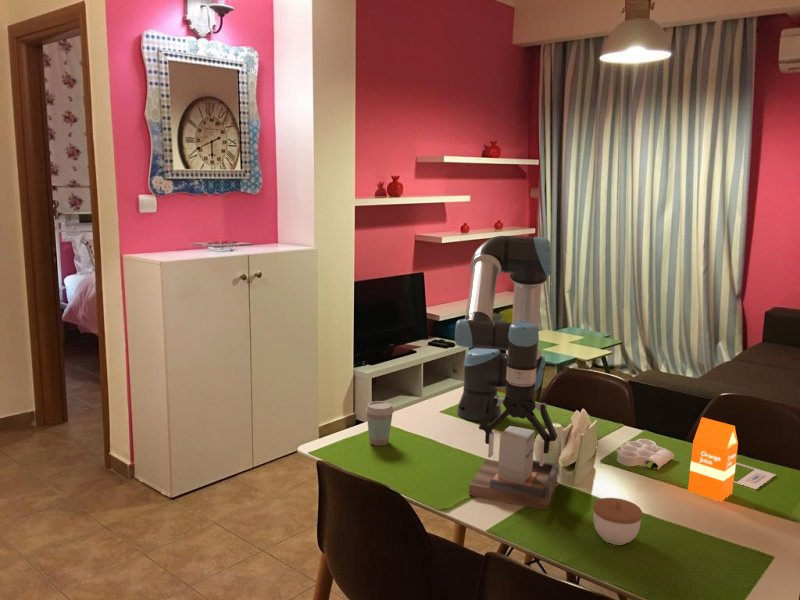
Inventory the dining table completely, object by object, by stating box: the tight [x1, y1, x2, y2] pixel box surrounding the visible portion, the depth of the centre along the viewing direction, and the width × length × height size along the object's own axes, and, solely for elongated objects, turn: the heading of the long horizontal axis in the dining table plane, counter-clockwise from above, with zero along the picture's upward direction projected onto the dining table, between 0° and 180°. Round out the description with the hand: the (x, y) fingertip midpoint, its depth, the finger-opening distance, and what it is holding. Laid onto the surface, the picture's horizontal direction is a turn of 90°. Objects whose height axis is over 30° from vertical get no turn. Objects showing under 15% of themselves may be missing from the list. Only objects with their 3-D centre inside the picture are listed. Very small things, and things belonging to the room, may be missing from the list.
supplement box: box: [498, 425, 536, 484], centre depth 187 cm, size 7×7×13 cm
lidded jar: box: [592, 497, 643, 545], centre depth 163 cm, size 11×11×9 cm
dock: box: [468, 458, 559, 511], centre depth 189 cm, size 18×20×5 cm
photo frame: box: [733, 461, 777, 490], centre depth 203 cm, size 15×1×18 cm
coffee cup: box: [365, 400, 394, 447], centre depth 217 cm, size 8×8×12 cm
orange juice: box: [687, 417, 739, 503], centre depth 188 cm, size 8×9×20 cm
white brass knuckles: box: [614, 438, 675, 470], centre depth 211 cm, size 3×18×15 cm
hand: (515, 460), depth 188 cm, fingers open, 13 cm apart
